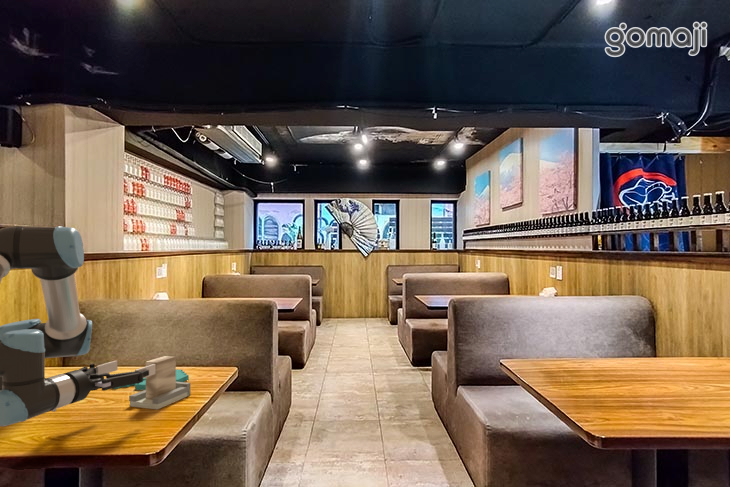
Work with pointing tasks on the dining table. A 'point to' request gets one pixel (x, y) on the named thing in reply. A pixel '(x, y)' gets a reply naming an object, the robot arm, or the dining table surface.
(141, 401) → the groove board
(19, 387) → the robot arm
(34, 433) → the dining table surface
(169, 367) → the beige rectangular block
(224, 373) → the dining table surface
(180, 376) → the alien figure
